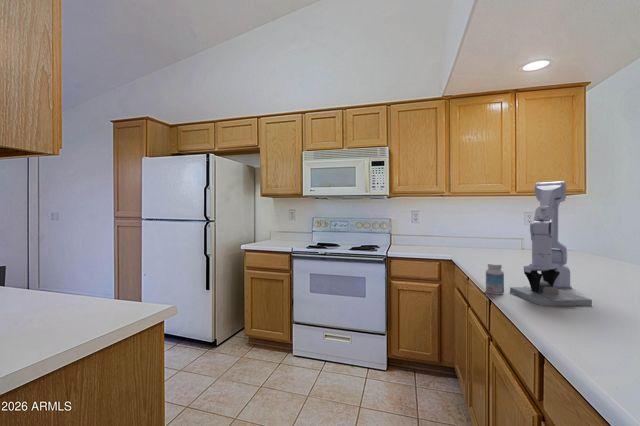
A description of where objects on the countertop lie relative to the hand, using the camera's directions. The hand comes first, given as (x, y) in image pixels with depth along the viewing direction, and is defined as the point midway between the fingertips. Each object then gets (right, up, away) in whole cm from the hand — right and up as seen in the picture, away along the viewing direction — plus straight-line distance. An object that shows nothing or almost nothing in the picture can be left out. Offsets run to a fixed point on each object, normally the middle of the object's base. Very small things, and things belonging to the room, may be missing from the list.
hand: (541, 290), depth 107 cm
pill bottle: (-13, -3, +7) cm, 15 cm away
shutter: (0, -1, -7) cm, 7 cm away
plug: (0, -2, 0) cm, 2 cm away
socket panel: (+1, -3, -1) cm, 3 cm away
